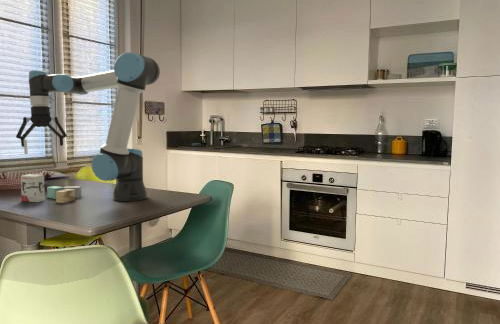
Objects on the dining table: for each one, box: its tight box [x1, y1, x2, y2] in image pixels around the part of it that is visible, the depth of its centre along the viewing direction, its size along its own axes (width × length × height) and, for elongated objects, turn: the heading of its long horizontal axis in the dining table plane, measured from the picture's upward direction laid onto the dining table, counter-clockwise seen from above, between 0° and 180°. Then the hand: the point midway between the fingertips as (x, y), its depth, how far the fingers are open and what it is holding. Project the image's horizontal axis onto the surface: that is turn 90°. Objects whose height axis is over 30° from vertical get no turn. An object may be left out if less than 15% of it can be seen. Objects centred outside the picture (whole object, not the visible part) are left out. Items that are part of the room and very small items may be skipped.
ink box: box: [20, 173, 46, 203], centre depth 178 cm, size 9×5×12 cm, turn 76°
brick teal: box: [46, 185, 64, 200], centre depth 187 cm, size 7×4×5 cm, turn 53°
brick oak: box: [55, 189, 76, 204], centre depth 178 cm, size 7×4×5 cm, turn 163°
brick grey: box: [63, 185, 82, 199], centre depth 188 cm, size 7×4×5 cm, turn 98°
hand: (43, 153), depth 180 cm, fingers open, 13 cm apart
